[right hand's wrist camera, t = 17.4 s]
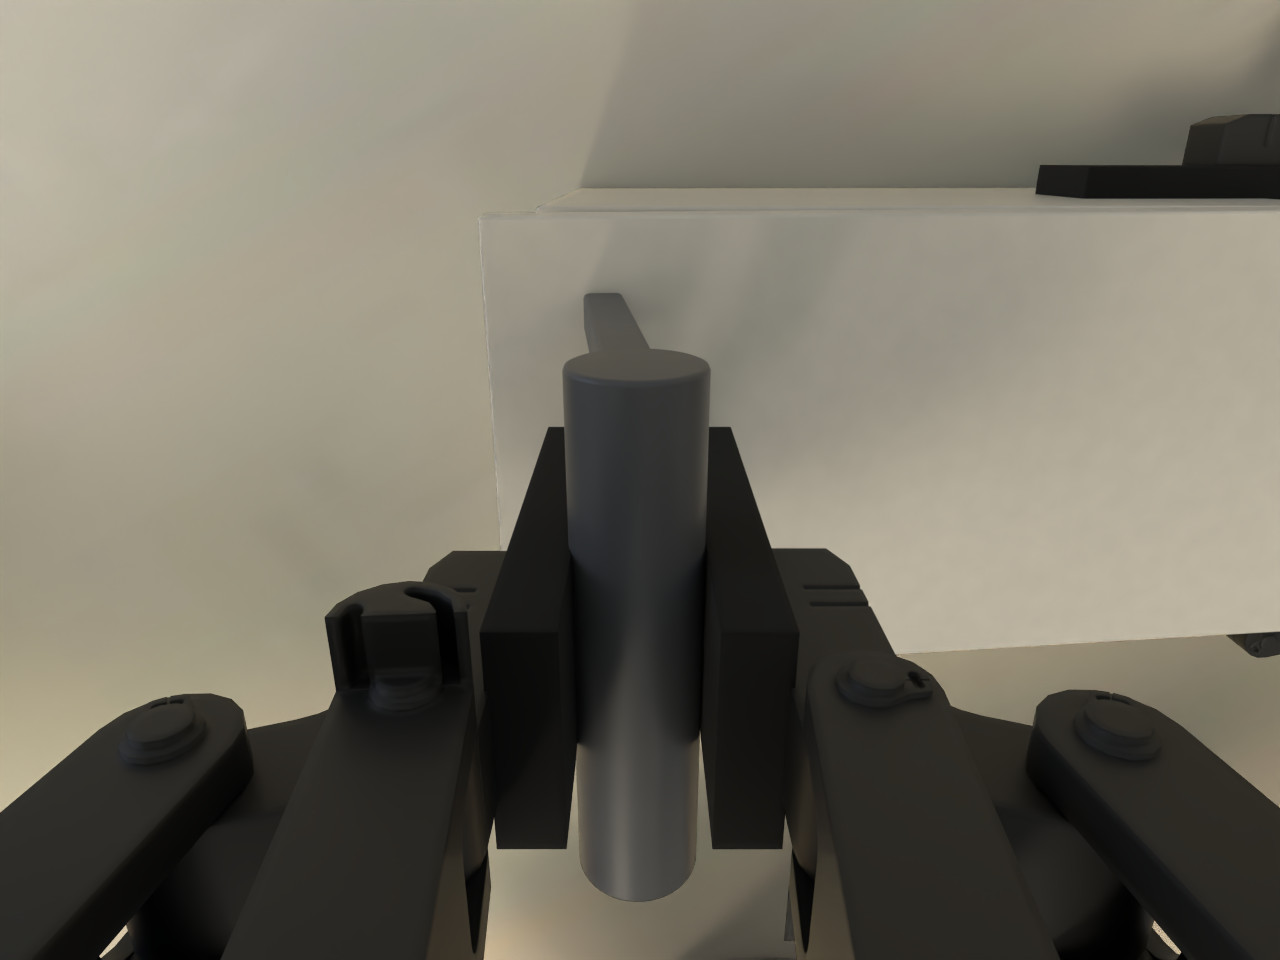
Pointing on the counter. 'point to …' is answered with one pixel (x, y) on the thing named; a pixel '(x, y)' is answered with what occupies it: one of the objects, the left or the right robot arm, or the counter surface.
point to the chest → (849, 200)
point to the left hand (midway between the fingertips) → (1027, 374)
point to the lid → (882, 442)
